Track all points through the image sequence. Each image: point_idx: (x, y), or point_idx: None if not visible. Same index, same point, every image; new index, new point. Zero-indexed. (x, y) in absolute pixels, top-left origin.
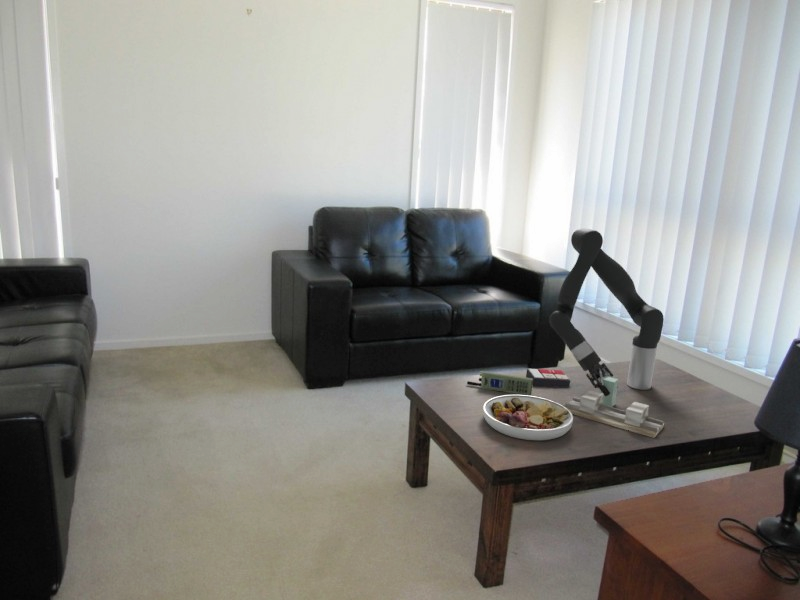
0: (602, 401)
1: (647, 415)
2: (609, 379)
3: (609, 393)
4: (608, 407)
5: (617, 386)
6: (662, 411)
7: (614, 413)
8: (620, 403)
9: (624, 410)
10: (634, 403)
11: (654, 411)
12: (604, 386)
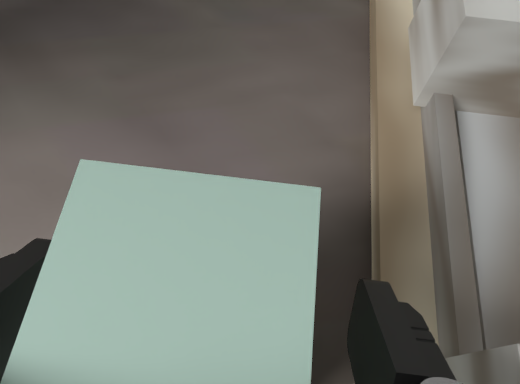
0: (461, 356)
1: (421, 7)
2: (200, 309)
3: (385, 283)
4: (472, 280)
5: (42, 241)
6: (127, 5)
7: (502, 220)
8: None
9: (441, 145)
10: (515, 10)
11: (155, 38)
12: (424, 363)
